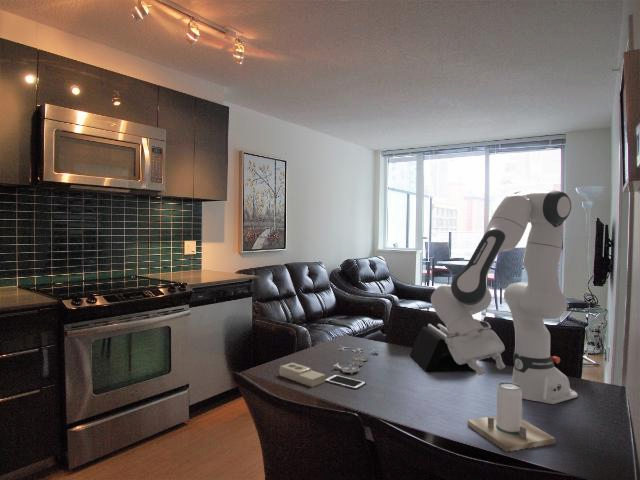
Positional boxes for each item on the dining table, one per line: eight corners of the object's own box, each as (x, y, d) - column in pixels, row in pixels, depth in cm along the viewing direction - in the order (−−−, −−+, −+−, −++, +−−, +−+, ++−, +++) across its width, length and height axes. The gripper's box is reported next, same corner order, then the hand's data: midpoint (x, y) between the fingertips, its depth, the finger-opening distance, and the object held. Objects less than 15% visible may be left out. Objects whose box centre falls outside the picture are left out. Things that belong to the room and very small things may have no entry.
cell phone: (334, 376, 166) (334, 374, 166) (367, 384, 157) (367, 382, 157) (323, 382, 159) (323, 379, 159) (356, 391, 151) (356, 388, 151)
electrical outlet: (312, 377, 153) (279, 366, 165) (312, 388, 153) (279, 376, 165) (325, 372, 158) (292, 361, 171) (325, 382, 159) (292, 371, 171)
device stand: (457, 355, 194) (457, 323, 194) (479, 372, 172) (479, 335, 172) (410, 356, 193) (410, 324, 193) (425, 373, 170) (426, 336, 170)
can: (496, 430, 117) (497, 387, 117) (496, 421, 123) (497, 380, 123) (522, 434, 114) (522, 391, 114) (521, 425, 120) (521, 383, 120)
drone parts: (304, 368, 176) (303, 361, 176) (338, 349, 208) (338, 342, 208) (355, 375, 166) (354, 367, 166) (383, 354, 197) (383, 347, 197)
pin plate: (511, 418, 129) (512, 405, 129) (555, 443, 113) (555, 429, 113) (467, 424, 124) (467, 411, 124) (506, 452, 109) (506, 437, 109)
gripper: (448, 329, 124) (476, 372, 116) (491, 321, 135) (519, 359, 127) (436, 341, 128) (463, 383, 120) (479, 332, 139) (506, 370, 131)
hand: (492, 371), depth 123 cm, fingers open, 8 cm apart
